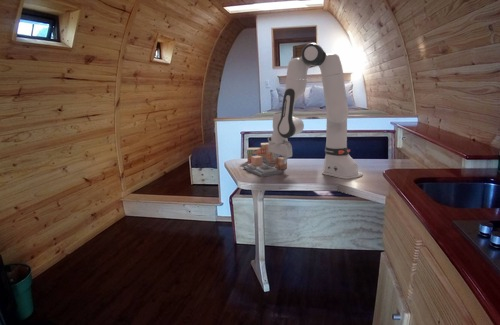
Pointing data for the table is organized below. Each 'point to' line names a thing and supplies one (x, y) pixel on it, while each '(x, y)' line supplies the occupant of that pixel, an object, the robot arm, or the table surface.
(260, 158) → the assembly plate
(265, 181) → the table surface
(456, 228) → the table surface
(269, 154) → the stack of blocks
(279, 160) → the terracotta block
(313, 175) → the table surface
